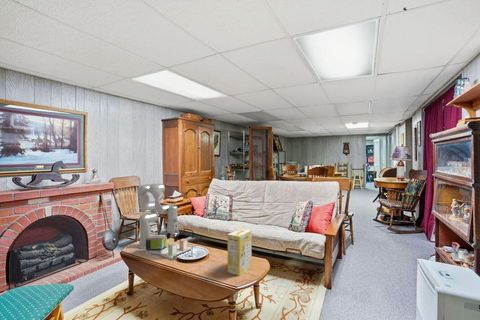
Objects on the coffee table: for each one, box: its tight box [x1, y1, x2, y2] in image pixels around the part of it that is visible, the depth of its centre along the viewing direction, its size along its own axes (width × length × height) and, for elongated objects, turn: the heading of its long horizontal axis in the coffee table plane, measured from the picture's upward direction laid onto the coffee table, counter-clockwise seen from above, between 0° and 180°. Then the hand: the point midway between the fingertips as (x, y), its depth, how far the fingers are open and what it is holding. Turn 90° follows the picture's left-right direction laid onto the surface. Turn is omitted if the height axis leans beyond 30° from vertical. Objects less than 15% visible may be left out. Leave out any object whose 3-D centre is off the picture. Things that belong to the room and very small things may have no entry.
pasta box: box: [226, 227, 253, 277], centre depth 176 cm, size 18×10×28 cm, turn 149°
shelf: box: [160, 243, 192, 261], centre depth 204 cm, size 17×20×4 cm
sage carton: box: [167, 242, 178, 256], centre depth 198 cm, size 5×5×9 cm
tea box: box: [145, 234, 167, 256], centre depth 208 cm, size 15×10×15 cm
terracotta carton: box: [178, 238, 188, 251], centre depth 209 cm, size 5×5×9 cm
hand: (172, 240), depth 198 cm, fingers open, 9 cm apart
